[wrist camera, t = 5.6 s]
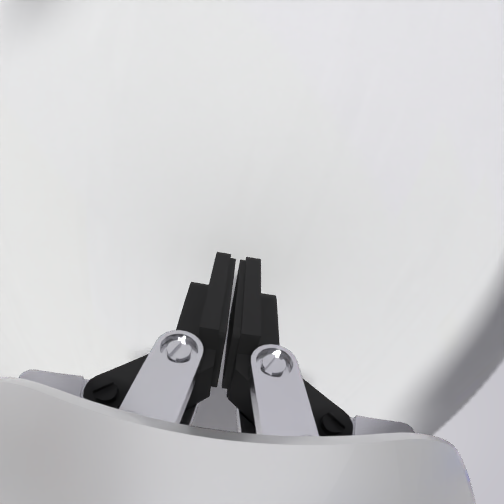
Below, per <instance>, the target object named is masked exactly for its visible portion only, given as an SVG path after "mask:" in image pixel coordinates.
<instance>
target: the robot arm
mask: <svg viewBox="0 0 504 504" xmlns="http://www.w3.org/2000/svg"><path fill="white" fill-rule="evenodd" d="M230 257H231V254H226V253H220V252H217V254H216V258H215V262H214V266H213V270H212V274H211V278H210V283H209V285H206V284H200V283H194V282H191V284H190V286H189V290H188V293H187V296H186V299H185V302H184V306H183V309H182V312H181V315H180V319H179V322H178V325H177V329H176V330H173V331H169V332H166V333H164V334H163V335H161V336H160V337H159V338H158V339H157V341H156V342H155V344H154V346H153V348H152V349H151V351H150V353H149V354H147V355H145V356H143V357H141V358H138V359H136V360H134V361H131V362H129V363H126V364H124V365H122V366H119V367H117V368H115V369H112V370H110V371H107V372H105V373H102V374H100V375H97V376H95V377H94V378H92V379H90V380H87V379H84V378H83V376H76V375H68V374H60V373H53V372H47V371H41V370H28V371H25V372H23V373H22V374H21V375H20V376H19V378H13V377H0V504H476V503H475V499H474V494H473V490H472V486H471V483H470V479H469V476H468V473H467V470H466V468H465V465H464V462H463V460H462V458H461V456H460V454H459V452H458V450H457V449H456V448H455V447H454V446H453V445H452V444H451V443H449V442H448V441H446V440H444V439H441V438H439V437H435V436H431V435H427V434H421V433H415V432H414V431H413V429H412V428H411V427H410V426H409V425H407V424H405V423H402V422H395V421H387V420H381V419H374V418H368V417H362V416H357V415H356V416H355V417H354V418H352V417H349V416H348V415H347V414H346V413H345V412H344V411H343V410H342V409H341V408H339V407H338V406H337V405H335V404H334V403H333V402H332V401H330V400H329V399H328V398H326V397H325V396H324V395H323V394H321V393H320V392H319V391H318V390H316V389H315V388H314V387H313V386H311V385H310V384H309V383H308V382H306V381H305V380H304V379H303V378H302V375H301V372H300V368H299V365H298V361H297V359H296V357H295V356H294V355H293V353H292V352H291V351H289V350H288V349H286V348H285V347H282V346H279V330H278V314H277V299H276V296H275V295H269V294H262V293H261V259H256V258H250V257H246V261H245V260H240V264H239V269H238V275H237V280H236V286H235V291H234V296H233V302H232V307H231V313H230V320H229V328H228V337H227V345H226V354H225V363H224V372H223V381H222V388H226V389H227V397H228V399H229V400H230V401H231V402H232V403H233V404H234V405H235V406H236V418H237V427H238V432H230V431H222V430H214V429H207V428H201V427H195V426H191V425H192V422H193V419H194V416H195V414H196V411H197V408H198V403H199V402H200V401H202V400H204V399H206V398H207V397H209V396H210V389H211V386H212V387H217V384H218V378H219V373H220V367H221V361H222V355H223V350H224V344H225V338H226V332H227V325H228V317H229V309H230V301H231V293H232V285H233V278H234V270H235V262H236V259H233V258H230Z"/></svg>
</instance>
